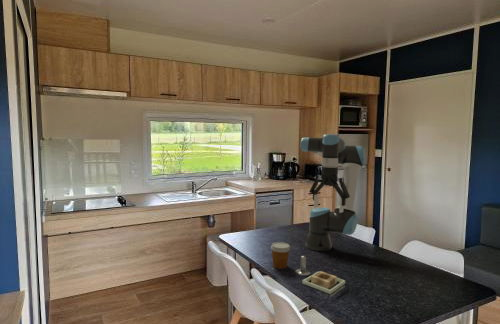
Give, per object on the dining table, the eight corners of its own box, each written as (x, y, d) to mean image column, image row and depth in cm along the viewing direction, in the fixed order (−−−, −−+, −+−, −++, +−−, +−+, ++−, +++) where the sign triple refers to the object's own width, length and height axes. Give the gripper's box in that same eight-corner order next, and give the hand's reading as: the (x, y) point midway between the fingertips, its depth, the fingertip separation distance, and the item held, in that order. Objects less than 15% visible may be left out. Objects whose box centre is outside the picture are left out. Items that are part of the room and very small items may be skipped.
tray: (318, 277, 148) (318, 271, 148) (345, 286, 139) (345, 280, 139) (302, 286, 138) (302, 280, 138) (330, 297, 129) (330, 291, 129)
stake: (300, 270, 155) (301, 252, 154) (313, 275, 150) (313, 256, 149) (292, 274, 150) (293, 256, 149) (305, 279, 145) (305, 260, 144)
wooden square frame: (310, 285, 138) (311, 276, 138) (321, 278, 145) (322, 270, 145) (327, 291, 133) (327, 282, 133) (337, 284, 140) (338, 275, 139)
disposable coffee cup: (274, 273, 151) (274, 249, 150) (267, 265, 160) (268, 242, 159) (292, 271, 153) (293, 247, 152) (285, 264, 162) (286, 241, 161)
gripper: (303, 164, 158) (302, 206, 160) (351, 169, 142) (349, 216, 144) (311, 163, 164) (310, 204, 166) (358, 168, 147) (356, 212, 149)
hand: (328, 209), depth 155 cm, fingers open, 13 cm apart
